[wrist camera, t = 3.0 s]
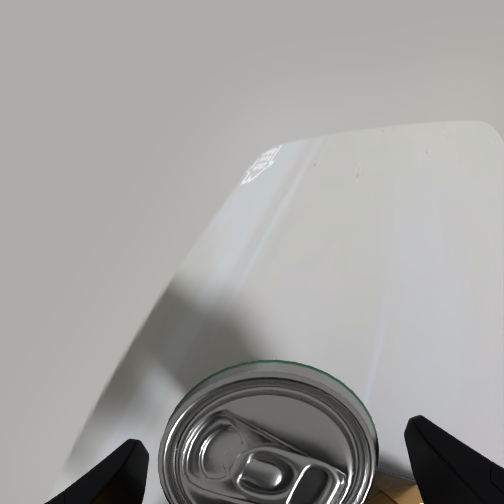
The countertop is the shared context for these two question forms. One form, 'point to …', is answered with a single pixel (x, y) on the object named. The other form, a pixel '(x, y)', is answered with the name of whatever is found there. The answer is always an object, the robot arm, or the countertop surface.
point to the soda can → (269, 439)
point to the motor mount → (393, 490)
